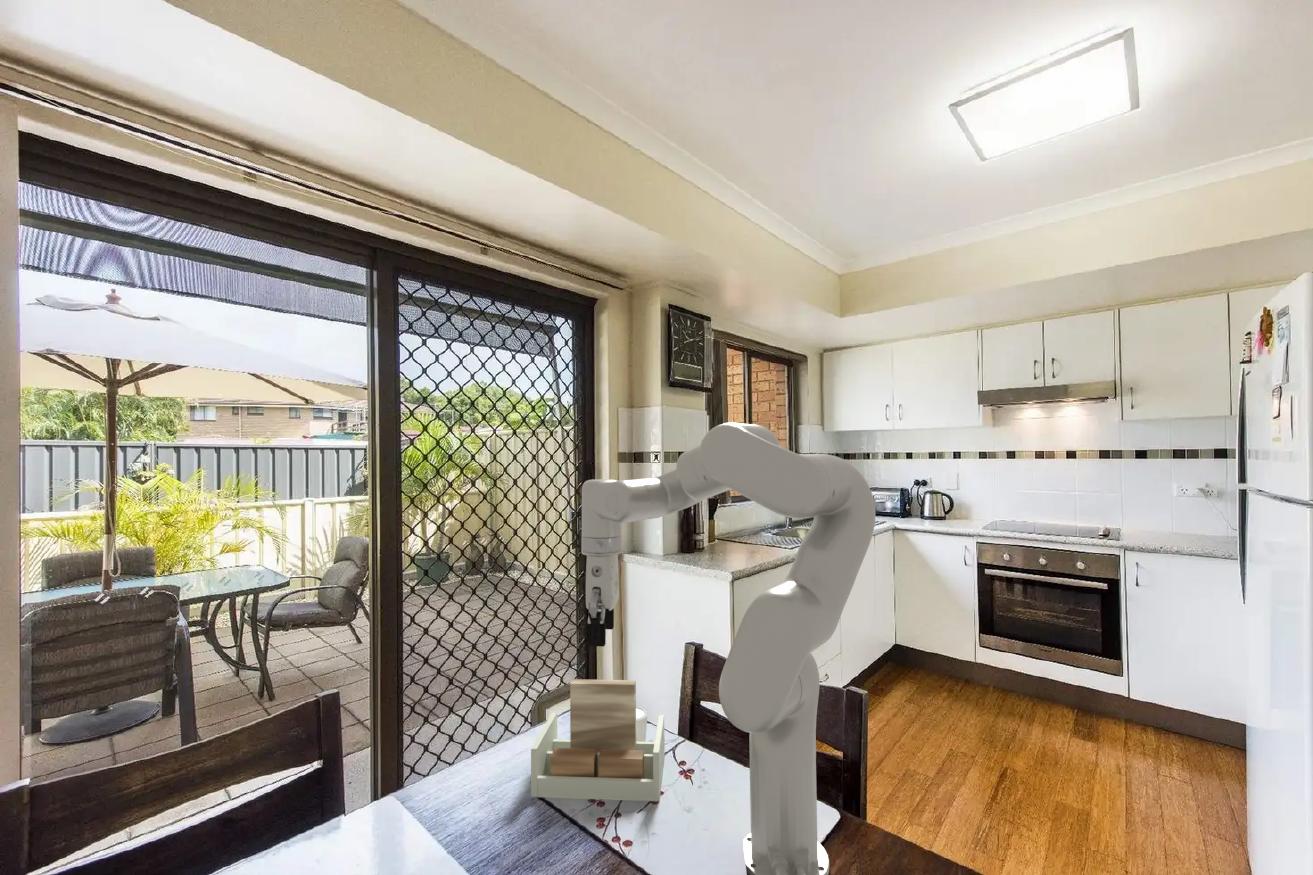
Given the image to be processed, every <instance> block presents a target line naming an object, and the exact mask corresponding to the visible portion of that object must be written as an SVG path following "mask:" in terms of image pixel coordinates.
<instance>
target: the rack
mask: <svg viewBox="0 0 1313 875" xmlns="http://www.w3.org/2000/svg"><path fill="white" fill-rule="evenodd" d="M656 726H657V727H656V731H655V738H654V741H645V742H638V741H636V750H644V779H629V778H599V770H598V758H599V755H600V753H597V777H567V776H551V755H552V753H553V751H554V749H555V748H570V739H562V738H561V739H559V738H558V712H557V711H556V712H555V711H553V712H551V713H550V716H549V717H548V719H547V721H546V722H545V724H544V725H543V727H542V729H541V731H540V733H539V734H538V735H537V737H536V740H535V741H534V743H533V745H532V746H531V748H530V797H531V798H549V799H550V798H551V799H552V798H553V799H555V798H556V799H578V800H579V799H581V800H582V799H583V800H609V801H611V800H612V801H632V802H633V801H637V802H640V801H641V802H660V799H661V791H662V782H663V774H664V766H665V748H666V747H665V714H658V719H657V724H656Z"/></svg>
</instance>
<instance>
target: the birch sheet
mask: <svg viewBox="0 0 1313 875" xmlns="http://www.w3.org/2000/svg"><path fill="white" fill-rule="evenodd" d="M636 687H637V684H636V680H634V679H633V680H630V679H629V680H627V679H624V680H623V679H585V678H584V679H580V678H579V679H577V678H575V679H574V678H572V680H571V681H570V683H569V691H570V692H569V703H570V705H569V709H570V710H569V713H570V714H569V715H570V720H569V721H570V722H569V724H570V726H569V728H570V732H569V733H570V736H569V737H570V739H569V740H570V748H579V749H597V753H600V752H601V749H614V750H636V707H637V695H636V694H637V688H636Z"/></svg>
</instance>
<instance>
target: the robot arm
mask: <svg viewBox="0 0 1313 875" xmlns="http://www.w3.org/2000/svg"><path fill="white" fill-rule="evenodd" d="M675 466H676V467H675V468H676V469H674V470H671V471H669V472H666V473H665V474H661V475H660V476H656V477H652V478H633V479H623V480H622V479H621V480H616V479H612V478H611V479H610V478H609V479H606V478H605V479H604V478H601V479H588V480H585V481H584V483H583V484H582V486H581V554H582V555H584V556H586V565H585V567H586V568H585V569H586V570H585V605H586V606H585V607H586V609H587V610H588V616H587V617H588V618H587V627H586V628H587V629H586V630H587V632H586V633H587V636H586V638H587V646H588V647H605V646H606V642H607V641H606V639H607V638H606V634H607V633H606V630H613V629H614V628H615V607H616V605H617V603H618V601H619V599H620V586H619V585H620V584H619V559H618V556H619V555H621V554H622V541H623V539H622V536H623V535H622V533H623V532H622V528H623V524H622V523H632V522H638V521H645V520H652V519H653V520H654V519H658V518H662V517H665V516H666V517H667V516H668V515H672V514H674V513H677V512H680V511H682V510H685V509H688V508H690V507H692V506H694V505H696V504H698V503H701V502H702V501H704V500H707V499H710V498H712V497H715V496H717V495H720V494H722V493H725V492H728V491H734V492H735V493H737V494H739V495H742V497H745V498H746V499H748V500H750V501H751V502H755V504H757V505H760V506H762V507H764V508H765V509H767V510H769V511H771V512H772V513H775V514H778V515H780V516H783V517H786V518H791V519H805V518H810V517H813V521H812V523H811V525H810V527H809V528H808V531H807V532H806V533H805V536H804V537H803V538H802V541H801V542H800V545H799V546H798V550H797V552H796V556H795V558H794V560H793V563H792V565H791V567H790V570H789V572H788V574H787V575H786V578H784V580H783V581H782V582H780V583H779V584H778V585H776V586H774V587H771V588H769V589H766V590H765V591H763V592H762V593H760V594H759V595H758V596H756V598H754V600H752V602H751V603H750V604H749V606H748V608H747V609H746V611H745V612H744V614H743V617H742V619H741V622H740V625H739V626H738V628H737V632H736V635H735V636H734V640H733V642H732V645H731V648H730V650H729V653H728V655H727V658H726V660H725V663H724V665H723V668H722V671H721V675H720V677H719V678H720V679H719V685H718V696H719V697H718V698H719V702H720V705H721V707H722V711H723V713H724V715H725V716H726V718H727V719H728V721H729V722H730V723H731V724H732V725H733V726H735V727H736V728H737V729H739V730H740V731H743V732H745V733H749V796H750V799H749V800H750V803H749V804H750V805H749V806H750V807H749V808H750V810H749V811H750V833H748V834H747V835H746V836H745V837H744V839H743V840H742V843H743V855H744V862H745V870H746V873H747V874H748V875H829V873H830V859H829V855H828V853H827V850H826V849H825V847H824V846H823V845H822V844H821V843H820V842H819V841H818V806H817V805H818V804H817V803H818V801H817V800H818V797H817V796H818V795H817V762H816V761H817V759H816V758H817V744H816V743H817V741H816V735H817V734H816V733H817V732H816V731H817V712H818V705H819V696H820V673H819V667H818V665H817V661H816V660H815V657H814V656H813V654H812V653H813V652H815V650H817V649H819V648H820V647H821V646H823V645H824V644H825V643H827V642H828V640H830V639H831V638H832V636H833V635H834V633H835V632H836V630H837V627H838V624H839V622H840V619H841V615H842V614H843V611H844V608H845V606H846V604H847V602H848V599H849V597H850V594H851V592H852V590H853V588H854V584H855V582H856V580H857V576H858V574H859V572H860V569H861V566H862V564H863V562H864V559H865V557H866V555H867V552H868V549H869V547H870V545H871V541H872V538H873V534H874V530H875V525H876V505H875V500H874V495H873V493H872V490H871V488H870V486H869V483H868V482H867V480H866V479H865V477H864V476H863V475H862V474H861V472H860V471H859V470H858V469H857V468H856V467H855V466H854V465H853V464H852V463H850V462H848V461H847V460H845V459H843V458H842V457H839V456H837V455H836V456H835V455H831V454H826V453H812V454H811V453H807V454H806V453H805V454H803V453H802V454H801V453H800V454H799V453H796V452H794V451H792V450H789V449H787V448H784V447H783V446H782V445H781V443H780V440H779V439H778V437H777V436H776V435H775V434H774V432H773V431H771V430H770V429H769V428H767V427H765V426H762V425H758V424H755V423H751V424H750V423H740V422H724V423H722V424H718V425H716V426H714V427H713V428H711V429H710V430H709V431H707V433H706V434H705V435H704V436H703V438H702V440H701V442H700V445H698V446H695V447H693V448H690V449H689V450H686V451H684V452H683V453H680V455H679V456H678V458H677V462H676V465H675Z"/></svg>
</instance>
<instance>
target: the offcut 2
mask: <svg viewBox="0 0 1313 875" xmlns="http://www.w3.org/2000/svg"><path fill="white" fill-rule="evenodd" d="M598 770H599V778H629V779H644V750H614V749H601V752H600V755H599V758H598Z"/></svg>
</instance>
